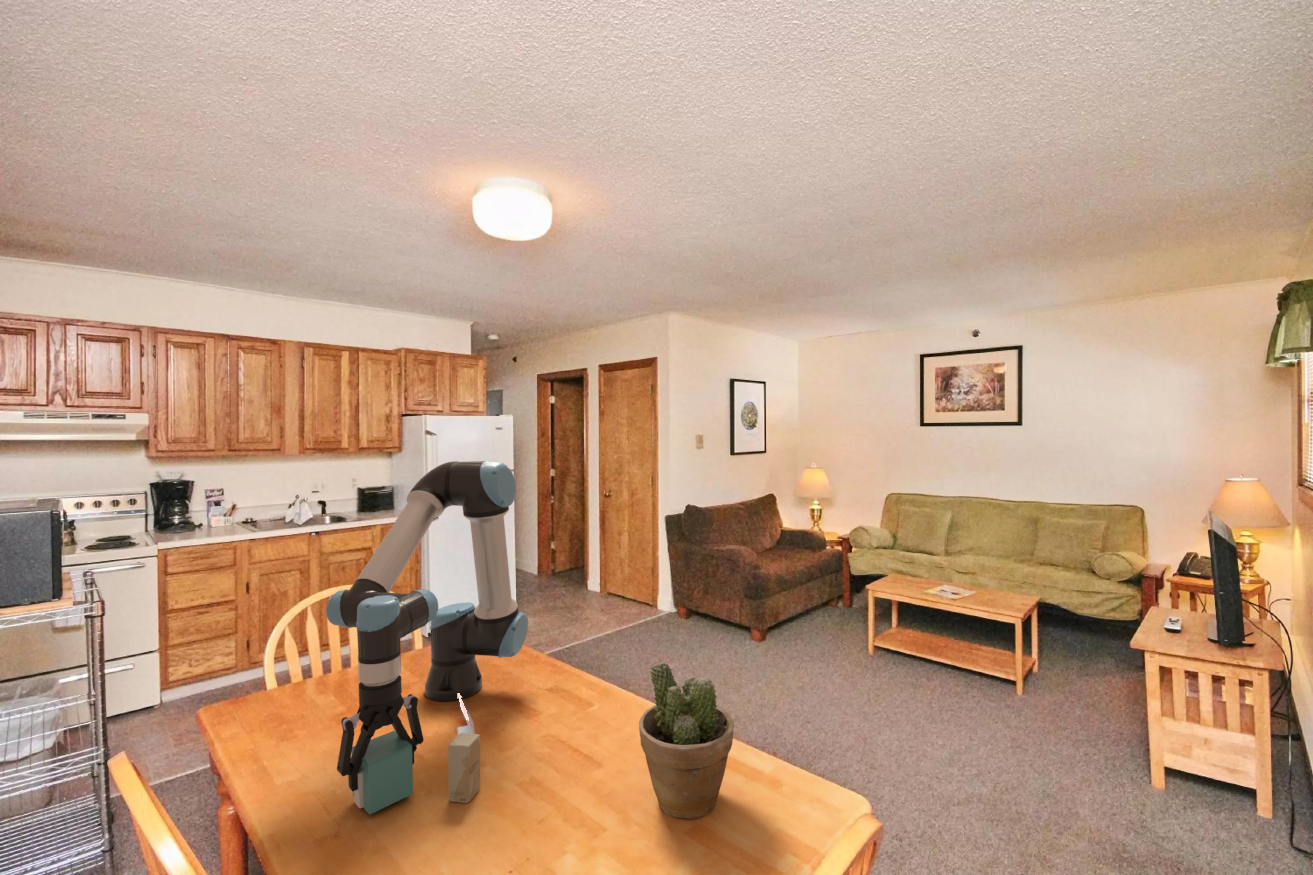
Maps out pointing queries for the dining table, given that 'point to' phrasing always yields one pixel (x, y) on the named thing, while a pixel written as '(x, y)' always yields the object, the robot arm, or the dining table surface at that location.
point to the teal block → (386, 771)
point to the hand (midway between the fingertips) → (383, 792)
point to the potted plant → (685, 744)
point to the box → (464, 767)
